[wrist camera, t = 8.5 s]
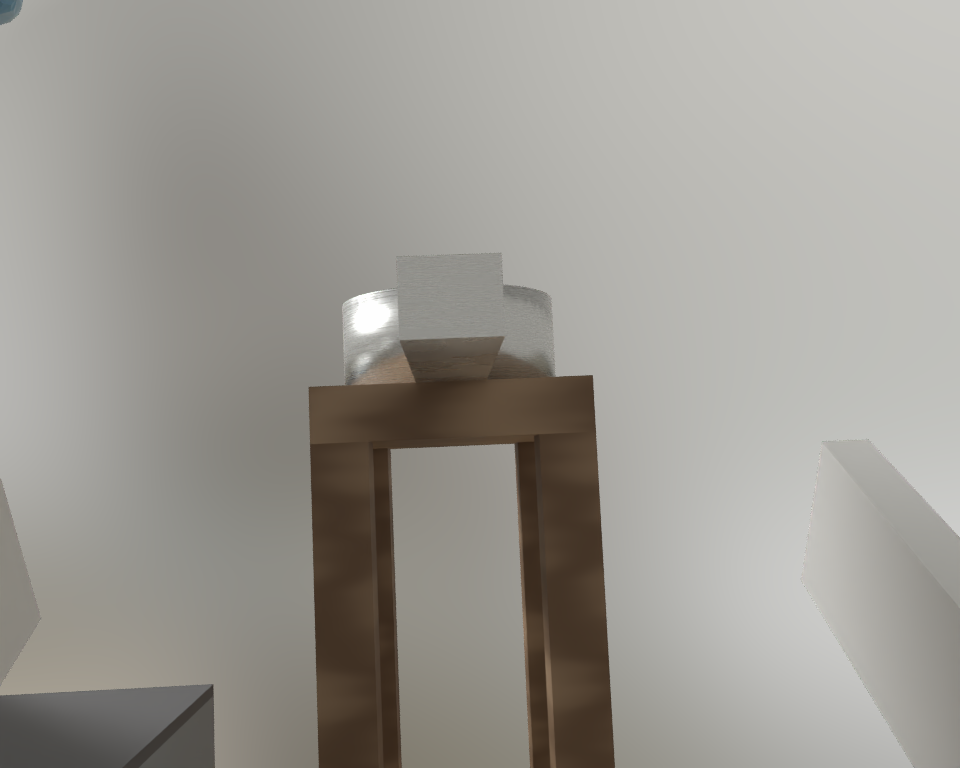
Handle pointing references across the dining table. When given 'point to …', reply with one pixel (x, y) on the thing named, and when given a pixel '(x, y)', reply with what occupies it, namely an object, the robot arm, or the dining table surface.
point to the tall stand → (543, 557)
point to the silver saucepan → (448, 325)
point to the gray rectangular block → (109, 728)
